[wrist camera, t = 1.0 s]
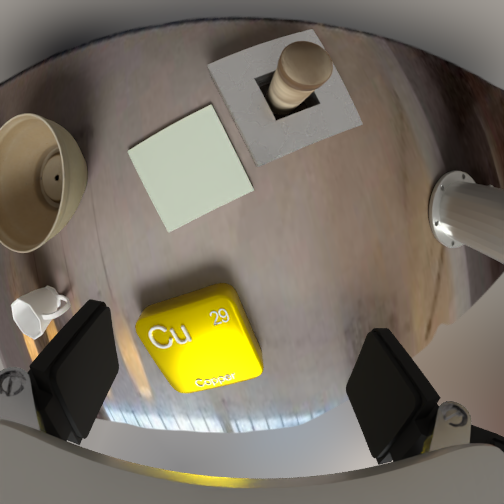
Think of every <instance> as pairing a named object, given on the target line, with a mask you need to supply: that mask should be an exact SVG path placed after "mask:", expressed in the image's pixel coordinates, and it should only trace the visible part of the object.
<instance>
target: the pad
mask: <svg viewBox="0 0 504 504" xmlns="http://www.w3.org/2000/svg"><path fill="white" fill-rule="evenodd" d="M128 154H129V156H130V158H131V160H132V162H133V164H134V166H135V168H136V170H137V172H138V174H139V176H140V178H141V180H142V182H143V184H144V186H145V188H146V190H147V192H148V194H149V196H150V198H151V200H152V202H153V204H154V206H155V208H156V210H157V212H158V214H159V216H160V218H161V219H162V221H163V223H164V225H165V227H166V229H167V231H168V232H171V231H173V230H175V229H177V228H179V227H181V226H183V225H185V224H187V223H188V222H190V221H192V220H194V219H196V218H198V217H200V216H202V215H204V214H206V213H208V212H210V211H212V210H214V209H216V208H218V207H220V206H222V205H224V204H226V203H228V202H230V201H233V200H235V199H237V198H239V197H241V196H243V195H245V194H247V193H249V192H251V191H254V189H253V187H252V185H251V183H250V181H249V179H248V177H247V175H246V173H245V171H244V169H243V166H242V164H241V162H240V160H239V158H238V156H237V154H236V152H235V150H234V148H233V146H232V144H231V142H230V140H229V138H228V136H227V134H226V132H225V130H224V128H223V126H222V124H221V122H220V120H219V118H218V116H217V114H216V112H215V110H214V109H213V107H212V105H209V106H207V107H205V108H203V109H201V110H199V111H197V112H195V113H193V114H191V115H189V116H187V117H185V118H183V119H181V120H180V121H178V122H176V123H174V124H172V125H170V126H169V127H167V128H165V129H163V130H162V131H160V132H158V133H156V134H155V135H153V136H151V137H150V138H148V139H146V140H145V141H143V142H141V143H140V144H138V145H137V146H135V147H133V148H132V149H130V150H129V151H128Z"/></svg>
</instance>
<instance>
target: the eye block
mask: <svg viewBox="0 0 504 504" xmlns="http://www.w3.org/2000/svg"><path fill="white" fill-rule="evenodd" d="M297 41H308V42H312V43H315V44H317V45H319V46H320V47H322V48H323V49H324V47H323V45H322V44H321V42H320V40H319V39H318V37H317V35H316V34H315V32H314V31H313V29H311V30H307V31H303V32H299V33H295V34H291V35H288V36H284V37H281V38H277V39H274V40H271V41H268V42H265V43H262V44H259V45H256V46H253V47H250V48H248V49H245V50H242V51H239V52H237V53H234V54H232V55H229V56H227V57H224V58H222V59H220V60H217V61H215V62H213V63H210V64H208V65H207V67H208V70H209V73H210V76H211V79H212V80H213V82H214V84H215V86H216V88H217V90H218V92H219V94H220V96H221V97H222V99H223V101H224V103H225V105H226V107H227V109H228V111H229V113H230V115H231V117H232V119H233V121H234V123H235V125H236V127H237V129H238V131H239V133H240V135H241V137H242V139H243V141H244V143H245V145H246V147H247V149H248V151H249V153H250V155H251V157H252V159H253V161H254V163H255V165H256V167H260V166H262V165H264V164H266V163H268V162H271V161H273V160H275V159H277V158H280V157H282V156H284V155H287V154H289V153H291V152H294V151H296V150H298V149H301V148H303V147H306V146H308V145H310V144H313V143H315V142H318V141H320V140H323V139H325V138H328V137H330V136H333V135H336V134H338V133H341V132H343V131H346V130H349V129H351V128H354V127H357V126H360V125H362V121H361V119H360V117H359V114H358V112H357V110H356V108H355V106H354V104H353V101H352V99H351V97H350V95H349V93H348V91H347V89H346V87H345V85H344V83H343V81H342V79H341V77H340V75H339V74H338V72H337V70H336V68H335V66H334V64H333V63H332V64H333V71H332V74H331V76H330V78H329V79H328V80H327V81H326V82H325V83H324V84H323V85H322V86H321V87H319V88H318V89H316V90H315V91H313V92H312V93H311V94H310V95H309V96H308V97H307V98H306V99H305V100H304V101H305V103H306V105H307V107H308V109H305V110H302V111H300V112H297V113H294V114H292V115H289V116H287V117H284V118H282V119H279V120H277V121H276V119H275V117H274V115H273V113H272V111H271V109H270V107H269V106H268V104H267V102H266V100H265V98H264V96H263V94H262V92H261V90H260V88H259V87H261V86H264V85H266V84H269V83H271V81H272V78H273V76H274V73H275V71H276V68H277V65H278V60H279V58H280V55H281V53H282V51H283V50H284V48H285V47H286V46H288V45H289V44H291V43H293V42H297ZM324 50H325V49H324ZM325 51H326V50H325Z"/></svg>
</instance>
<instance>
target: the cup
mask: <svg viewBox="0 0 504 504" xmlns="http://www.w3.org/2000/svg"><path fill="white" fill-rule="evenodd" d="M60 300H64V301H66V302H67V303H66V305H64V306H63V307H62V308H61V309H59V310H58V311H57V307H59V306H60ZM70 306H71V305H70V302H69V299H68V298H67V297H66V296H64V295H59V294H58V293H57V291H56V289H55V288H53V287H51V286H48V285H47V286H46V287H45V288H44V287H43V288H40V289H36V290H34V291H32V292H30V293H28V294H26V295H24V296H22V297H20V298H18V299H17V300H16V301H14V302H13V303H12V304H11V307H12V314H13V319H14V321H15V322H16V324H17V325H18V327H19V328H20V330H21V331H22V333H24V334H25V335H27V336H29V337H31V338H33V339H36V338H38V337H39V336H41V335H42V334H43V333H44V331H45V329H46V328H47V326H48V324H49V323H50V321H51V320H52V319H54V318H56V317H58V316H60V315H62V314H63V313H64V312H66V311H67V310H68V309H69V308H70Z"/></svg>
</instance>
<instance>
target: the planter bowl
mask: <svg viewBox="0 0 504 504" xmlns="http://www.w3.org/2000/svg"><path fill="white" fill-rule="evenodd" d="M57 175H58V176H59V179H58V180H56V178H55V177H56V176H57ZM87 175H88V173H87V165H86V162H85V159H84V157H83V155H82V153H81V150H80V148H79V146H78V144H77V142H76V141H75V139H74V138H73V137H72V135H71V134H70V133H69V132H68V131H67V130H66V129H64V128H63V127H62V126H60V125H59V124H57V123H55V122H53V121H51V120H48V119H45V118H44V117H42V116H40V115H36V114H32V113H25V114H21V115H18V116H15V117H13V118H12V119H10V120H9V121H8V122H6V123H5V124H4V125H3V126H2V127H1V128H0V242H1V243H2V244H3V245H4V246H5V247H7V248H8V249H10V250H12V251H15V252H19V253H28V252H31V251H34V250H36V249H37V248H39V247H41V246H42V245H43V244H45V243H46V242H47V241H48V240H49V239H51V238H52V237H54V236H55V235H56V234H57V233H59V232H60V231H61V230H62V229H63V228H64V227H65V225H66V224H67V223H68V222H69V220H70V219H71V218H72V216H73V215H74V213H75V211H76V209H77V207H78V205H79V203H80V201H81V198H82V195H83V193H84V191H85V188H86V184H87Z"/></svg>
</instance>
